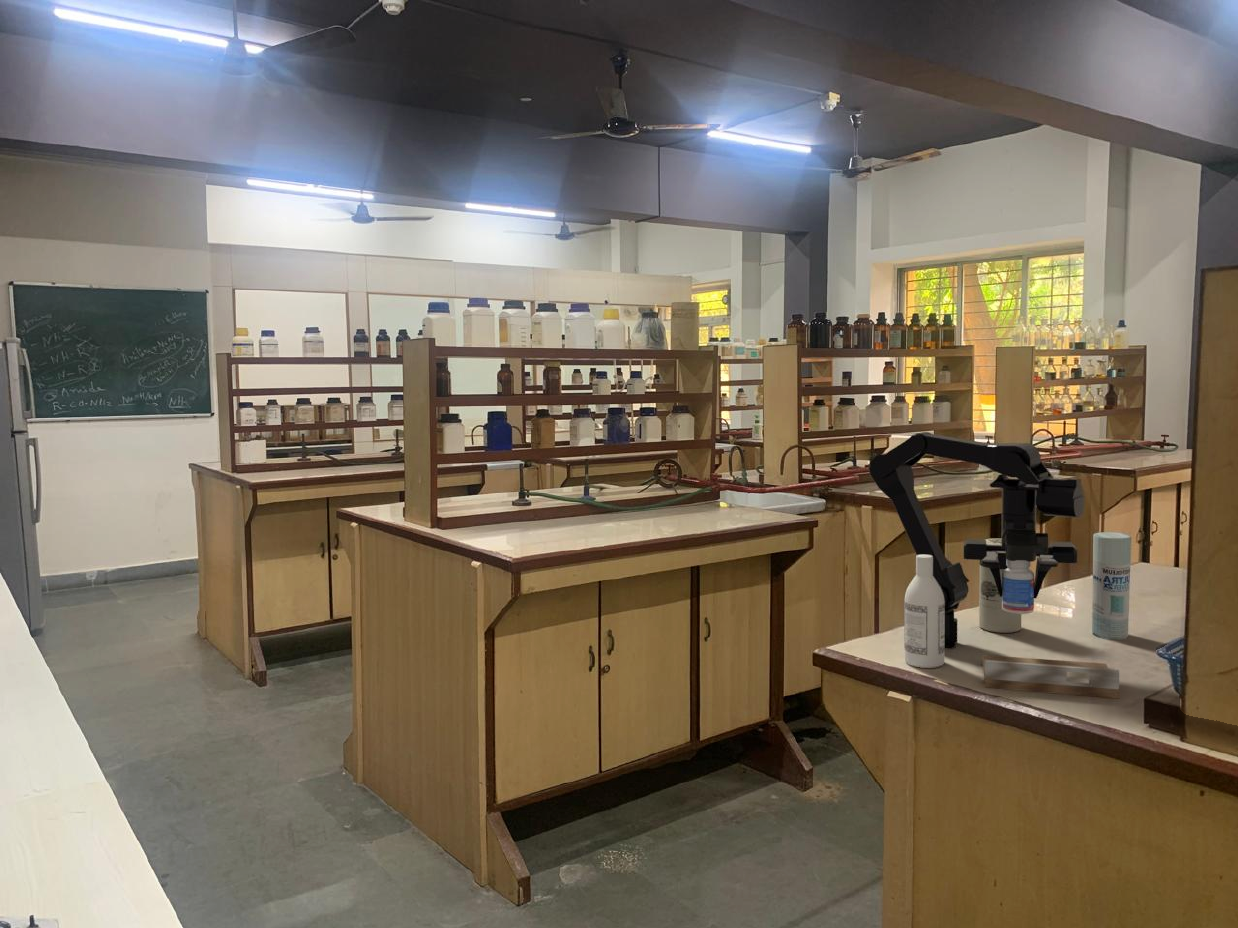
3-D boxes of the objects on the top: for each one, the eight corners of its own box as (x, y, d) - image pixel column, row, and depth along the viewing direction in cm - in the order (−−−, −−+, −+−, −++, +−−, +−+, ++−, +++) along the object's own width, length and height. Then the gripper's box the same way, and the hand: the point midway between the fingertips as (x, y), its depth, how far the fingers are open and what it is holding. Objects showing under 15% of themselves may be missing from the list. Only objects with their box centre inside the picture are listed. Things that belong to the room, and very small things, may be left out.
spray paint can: (1117, 629, 182) (1120, 531, 179) (1135, 639, 175) (1138, 537, 173) (1084, 630, 182) (1086, 532, 180) (1101, 640, 175) (1104, 538, 173)
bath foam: (934, 655, 170) (934, 550, 168) (951, 667, 163) (951, 558, 161) (898, 658, 169) (898, 553, 167) (914, 670, 162) (914, 560, 160)
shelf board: (985, 687, 152) (985, 661, 152) (982, 662, 165) (982, 638, 164) (1119, 698, 145) (1119, 671, 145) (1105, 671, 158) (1106, 646, 157)
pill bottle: (1037, 614, 163) (1037, 561, 162) (1005, 614, 164) (1005, 561, 163) (1029, 606, 168) (1030, 555, 167) (999, 606, 169) (999, 555, 168)
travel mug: (1003, 621, 190) (1004, 536, 188) (1030, 631, 182) (1031, 543, 181) (970, 625, 188) (971, 539, 186) (996, 635, 180) (997, 546, 179)
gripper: (964, 519, 160) (963, 605, 161) (1082, 521, 153) (1080, 611, 155) (963, 509, 170) (963, 590, 172) (1073, 511, 164) (1072, 595, 165)
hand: (1017, 597), depth 166 cm, fingers closed on pill bottle, 5 cm apart
